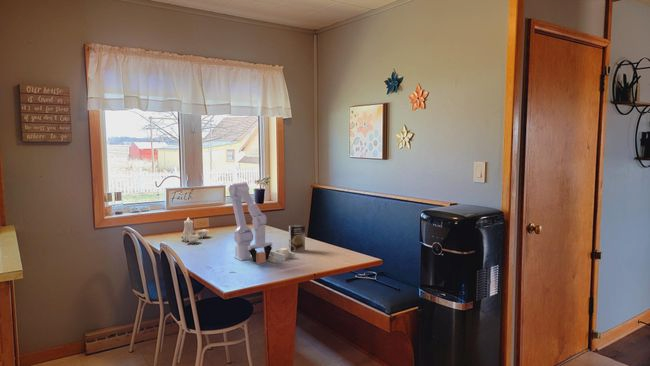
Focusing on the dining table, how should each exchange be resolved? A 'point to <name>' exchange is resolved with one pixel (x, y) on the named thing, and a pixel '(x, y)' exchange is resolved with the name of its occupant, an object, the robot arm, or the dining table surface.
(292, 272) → the dining table surface
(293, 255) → the slot rack
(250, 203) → the robot arm
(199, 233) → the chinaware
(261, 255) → the terracotta block
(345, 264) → the dining table surface
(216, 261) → the dining table surface
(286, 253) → the cream block
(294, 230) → the coffee box
